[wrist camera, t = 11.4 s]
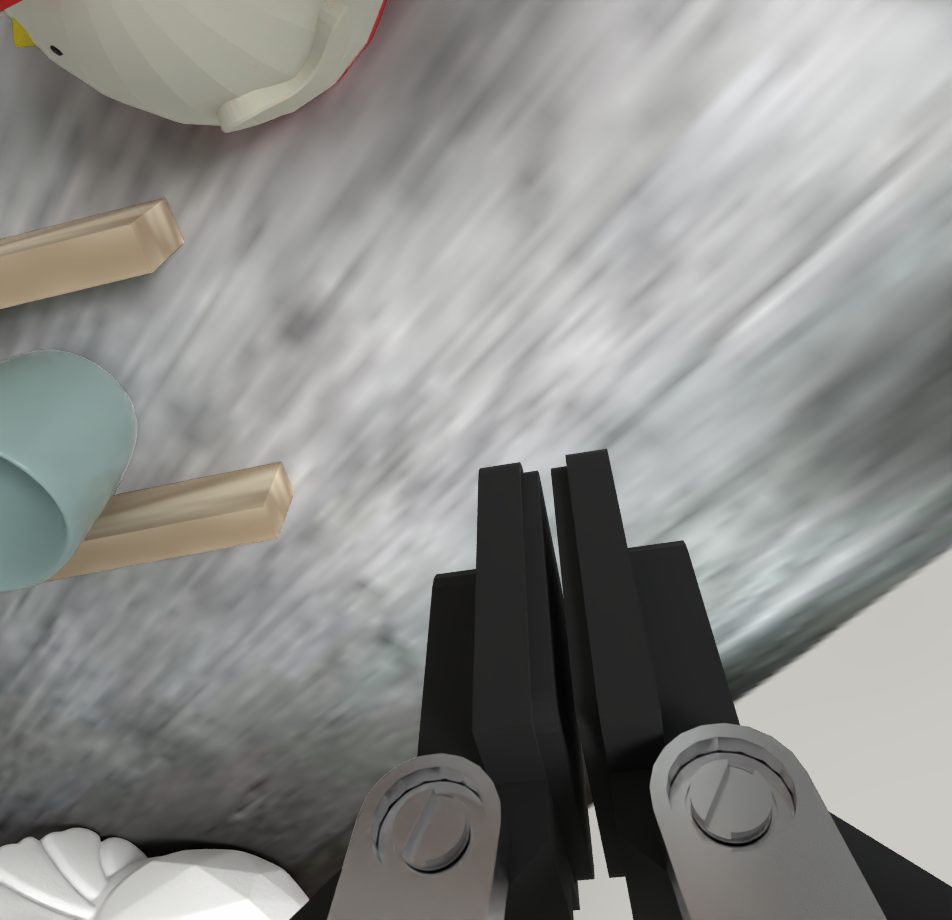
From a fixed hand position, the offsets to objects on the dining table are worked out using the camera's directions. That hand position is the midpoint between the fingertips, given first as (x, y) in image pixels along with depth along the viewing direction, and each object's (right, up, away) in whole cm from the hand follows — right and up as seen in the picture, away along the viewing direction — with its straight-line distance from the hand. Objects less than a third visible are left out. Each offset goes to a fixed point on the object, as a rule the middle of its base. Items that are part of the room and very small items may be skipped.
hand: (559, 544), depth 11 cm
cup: (-21, +4, +29) cm, 36 cm away
